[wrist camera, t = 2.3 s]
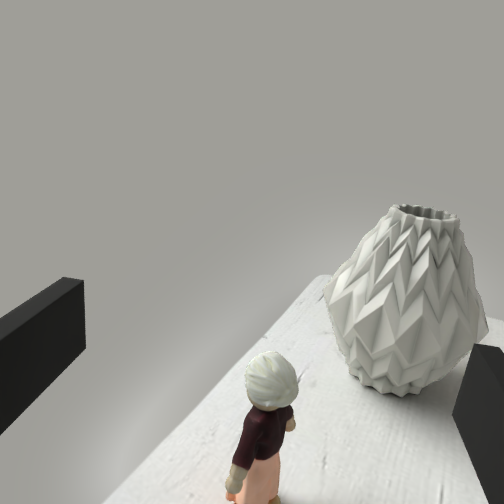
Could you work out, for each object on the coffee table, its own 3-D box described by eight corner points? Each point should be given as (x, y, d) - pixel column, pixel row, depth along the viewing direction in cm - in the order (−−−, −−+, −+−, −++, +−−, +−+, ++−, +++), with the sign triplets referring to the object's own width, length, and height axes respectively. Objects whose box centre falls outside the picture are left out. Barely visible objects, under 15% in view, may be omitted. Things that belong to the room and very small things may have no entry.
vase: (499, 410, 44) (562, 237, 38) (362, 438, 38) (409, 239, 32) (398, 329, 58) (432, 193, 52) (287, 340, 53) (310, 189, 46)
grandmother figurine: (245, 464, 34) (263, 322, 30) (292, 482, 33) (317, 337, 29) (200, 550, 28) (215, 383, 23) (256, 577, 26) (283, 406, 22)
